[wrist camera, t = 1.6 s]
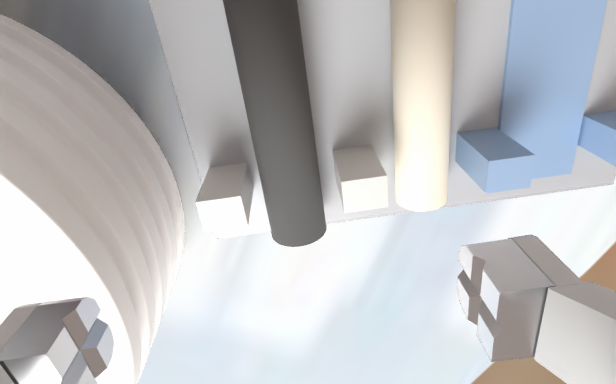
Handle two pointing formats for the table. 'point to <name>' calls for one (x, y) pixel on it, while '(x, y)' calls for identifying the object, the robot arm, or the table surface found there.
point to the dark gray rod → (279, 115)
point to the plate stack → (83, 198)
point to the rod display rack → (379, 104)
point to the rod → (422, 99)
